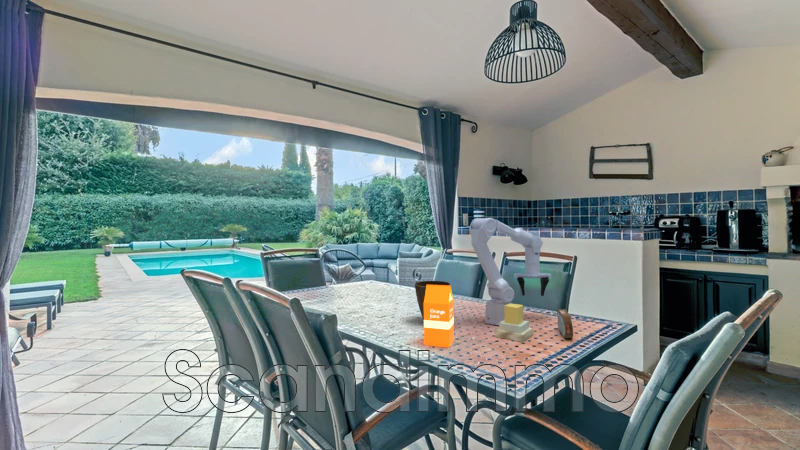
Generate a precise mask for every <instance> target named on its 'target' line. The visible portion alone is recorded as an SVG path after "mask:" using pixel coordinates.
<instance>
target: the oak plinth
mask: <svg viewBox="0 0 800 450" xmlns="http://www.w3.org/2000/svg"><path fill="white" fill-rule="evenodd" d="M494 333H495V338H499V339H500V338H501V339H506V340H511V341H515V342H519V343H520V342H521V343H524V342H525V341H527V340H528V339H529V338H531V337H532V336H533V335H534V328H533V327H530V326H529V329H527V330H526V331H524V332H523V333H522V334H520V333H514V332H509V331H504V330H499V327H497V328H496V329H495V332H494Z"/></svg>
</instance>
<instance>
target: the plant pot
mask: <svg viewBox="0 0 800 450" xmlns="http://www.w3.org/2000/svg"><path fill="white" fill-rule="evenodd" d="M426 285H447V286H451V283H450V282H448V281H443V280H441V281H440V280H422V281H417V282H414V289H415V295H416V300H417V304H418V308H419V312H420V314H421V317H422V319H423V321H424V298H425V292H426Z"/></svg>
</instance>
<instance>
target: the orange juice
mask: <svg viewBox="0 0 800 450" xmlns="http://www.w3.org/2000/svg"><path fill="white" fill-rule="evenodd" d="M454 317H455V316H454V297H453V291H452V285H450V286H447V285H426V292H425V298H424V320H423V338H424V339H423V344H424V345H425V346H431V347H439V348H440V347H441V348H448V349H449V348H450V347H451V346H452V344H453V342H454V341H455V335H454V334H455V331H454V330H455V327H454V324H455V321H454V320H455V318H454Z"/></svg>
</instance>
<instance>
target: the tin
mask: <svg viewBox="0 0 800 450" xmlns="http://www.w3.org/2000/svg"><path fill="white" fill-rule="evenodd" d="M556 315H557V316H556V317H557V318H556V319H557V327H558V330H559V333H560V334H561V335H562V337H563V338H564V339H573V337H574V328H573V322H572V321H573V320H572V318H571V315H570V313H568V311H567V310H566V309H565V308H563V309H561V308H560V309H557V310H556Z"/></svg>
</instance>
